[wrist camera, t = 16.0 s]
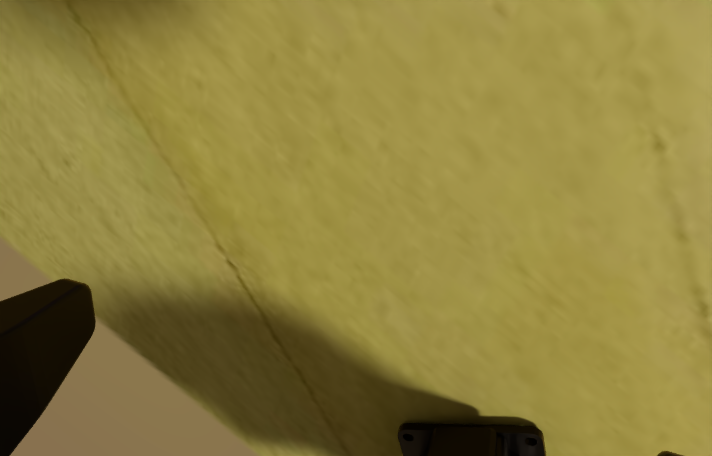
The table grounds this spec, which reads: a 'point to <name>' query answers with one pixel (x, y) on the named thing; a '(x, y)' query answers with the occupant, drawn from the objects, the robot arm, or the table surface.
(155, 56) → the table surface
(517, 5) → the table surface
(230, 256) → the table surface
